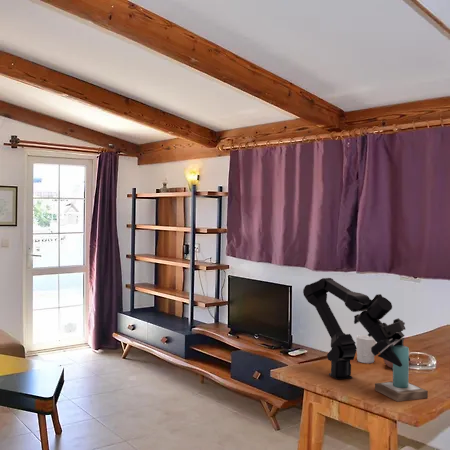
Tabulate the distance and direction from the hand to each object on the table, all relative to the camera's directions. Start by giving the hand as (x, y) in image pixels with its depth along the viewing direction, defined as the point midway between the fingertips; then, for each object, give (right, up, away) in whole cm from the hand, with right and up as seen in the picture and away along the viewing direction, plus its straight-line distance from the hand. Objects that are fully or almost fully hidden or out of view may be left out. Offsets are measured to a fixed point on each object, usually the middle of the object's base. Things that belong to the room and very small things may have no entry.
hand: (405, 363), depth 177 cm
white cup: (-2, -10, +42) cm, 43 cm away
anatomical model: (+10, -11, +39) cm, 41 cm away
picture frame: (-1, -11, +1) cm, 11 cm away
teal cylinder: (-1, -8, +1) cm, 8 cm away
